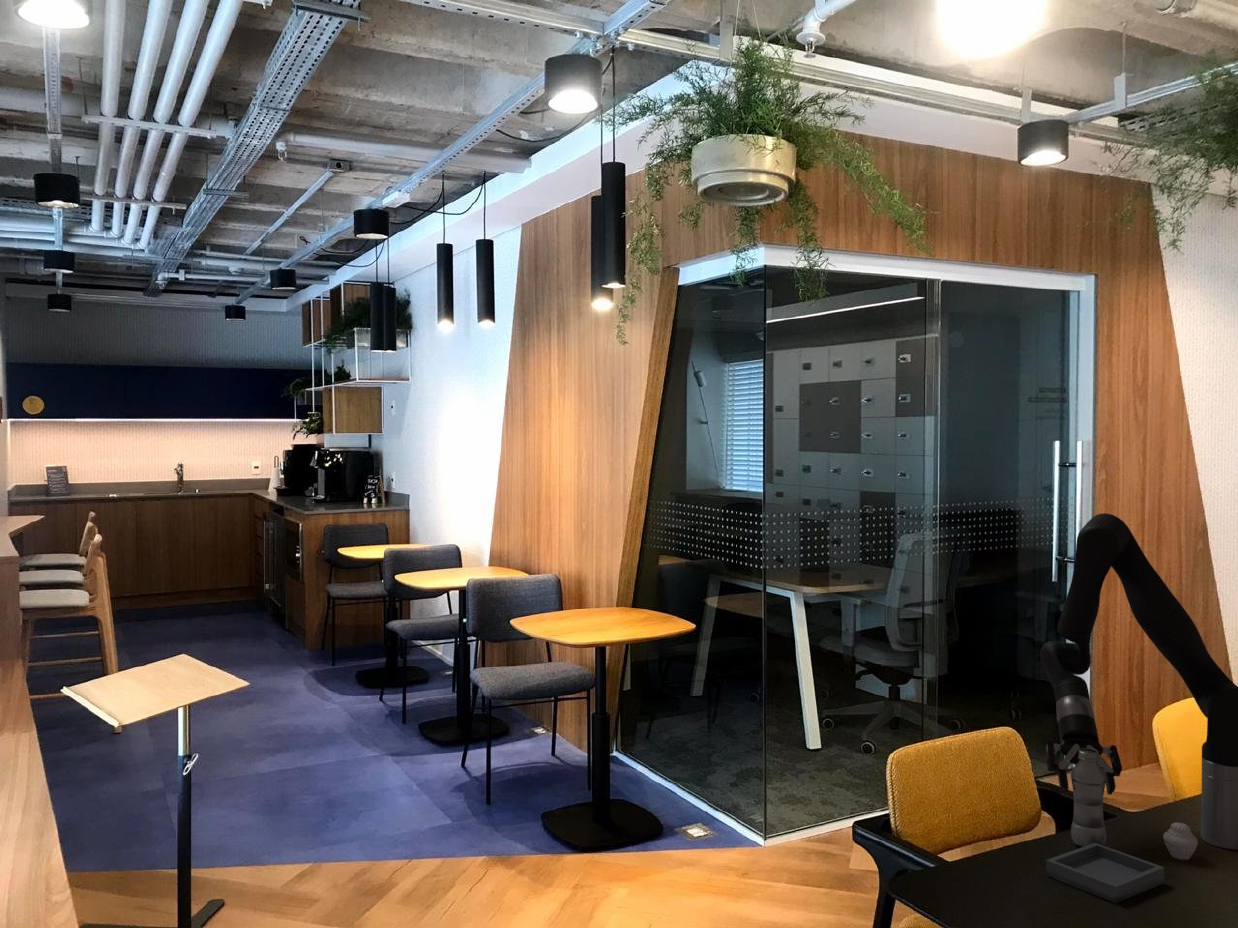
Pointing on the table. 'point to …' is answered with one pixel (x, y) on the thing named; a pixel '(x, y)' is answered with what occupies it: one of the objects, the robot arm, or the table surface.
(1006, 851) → the table surface
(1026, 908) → the table surface
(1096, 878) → the tray
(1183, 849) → the muffin
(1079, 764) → the plastic bottle
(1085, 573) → the robot arm
